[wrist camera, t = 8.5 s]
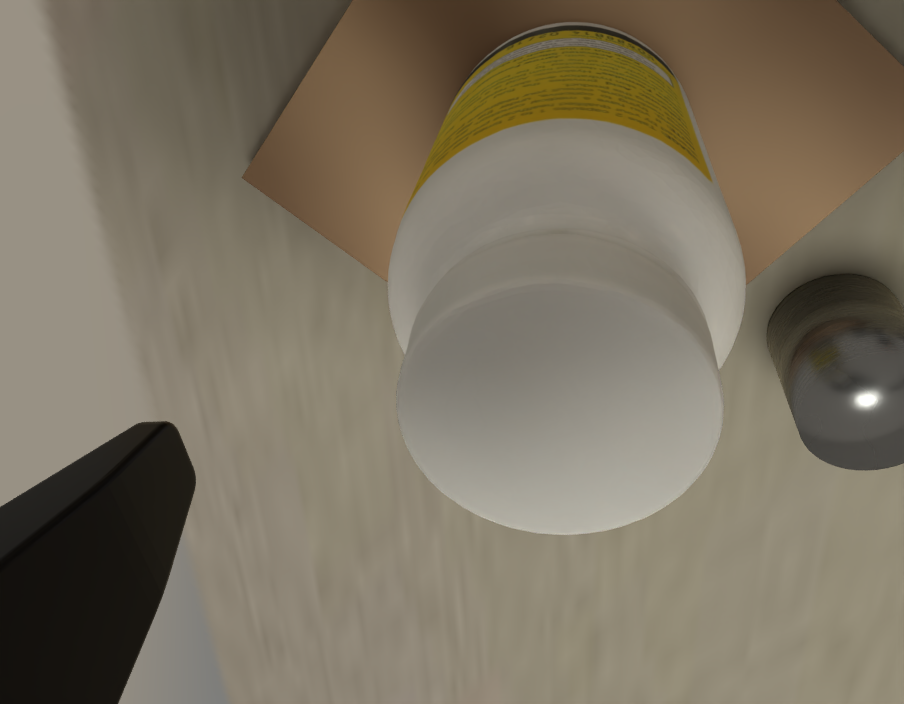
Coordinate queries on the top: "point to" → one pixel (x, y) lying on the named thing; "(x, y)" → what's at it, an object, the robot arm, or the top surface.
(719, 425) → the supplement bottle
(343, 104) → the tan square slab
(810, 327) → the grey rounded cylinders
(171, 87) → the top surface
